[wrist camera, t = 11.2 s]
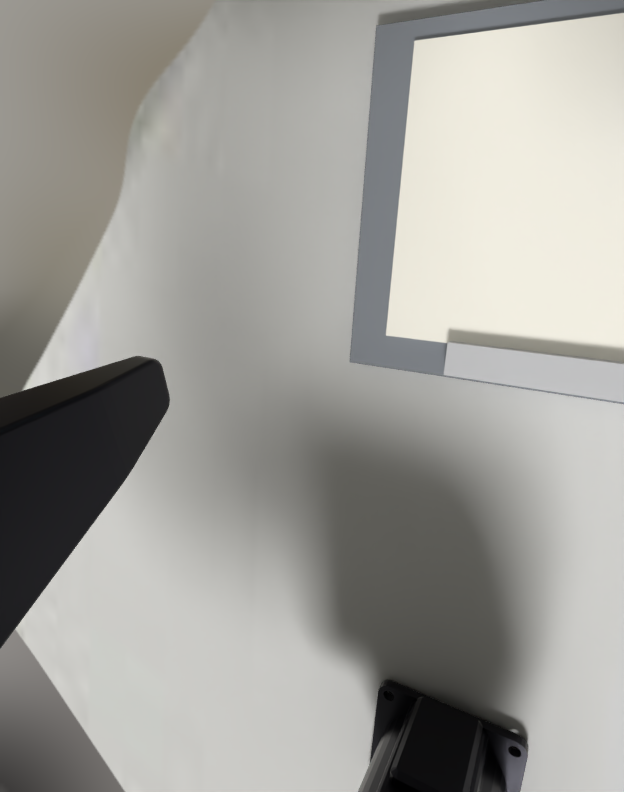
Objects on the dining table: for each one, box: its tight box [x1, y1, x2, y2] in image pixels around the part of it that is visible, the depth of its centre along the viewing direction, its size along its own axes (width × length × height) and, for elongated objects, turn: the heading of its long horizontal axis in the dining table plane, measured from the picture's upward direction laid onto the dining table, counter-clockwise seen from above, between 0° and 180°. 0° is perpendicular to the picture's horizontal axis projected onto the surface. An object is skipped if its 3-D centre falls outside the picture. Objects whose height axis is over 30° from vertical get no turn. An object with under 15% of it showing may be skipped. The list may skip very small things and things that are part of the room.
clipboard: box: [350, 0, 624, 404], centre depth 16 cm, size 12×14×1 cm
